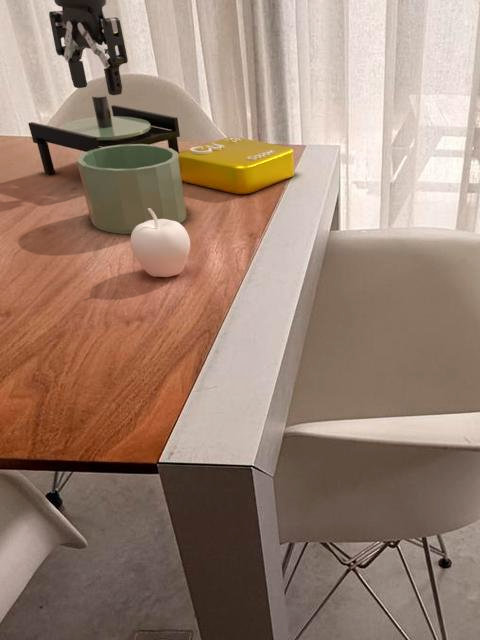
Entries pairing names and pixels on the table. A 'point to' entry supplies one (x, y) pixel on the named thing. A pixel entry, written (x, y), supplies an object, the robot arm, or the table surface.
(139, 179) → the pot
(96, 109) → the lid
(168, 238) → the apple
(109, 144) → the rack
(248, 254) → the table surface
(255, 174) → the element tile
